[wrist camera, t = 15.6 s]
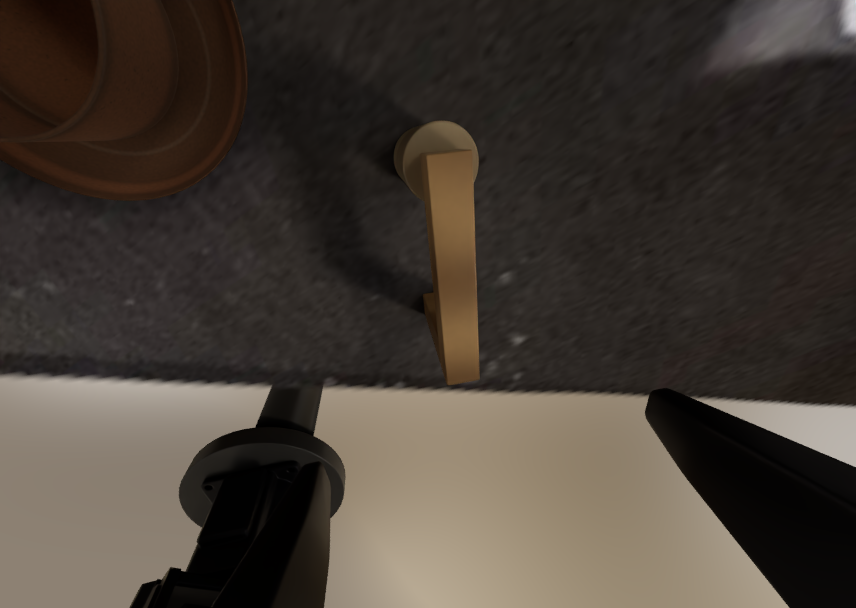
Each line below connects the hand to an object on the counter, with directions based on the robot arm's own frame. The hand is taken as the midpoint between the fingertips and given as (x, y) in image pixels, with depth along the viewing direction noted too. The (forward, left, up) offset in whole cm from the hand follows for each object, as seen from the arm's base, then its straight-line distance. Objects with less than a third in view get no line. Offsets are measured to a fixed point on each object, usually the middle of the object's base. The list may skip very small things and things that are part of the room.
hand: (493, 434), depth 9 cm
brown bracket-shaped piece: (+2, -1, -13) cm, 13 cm away
